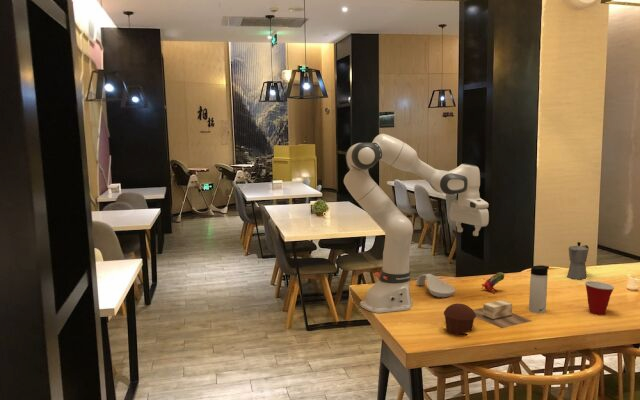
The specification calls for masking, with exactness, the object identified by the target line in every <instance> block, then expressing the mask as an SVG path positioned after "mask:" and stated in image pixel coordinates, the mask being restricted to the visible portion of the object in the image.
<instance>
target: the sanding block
mask: <svg viewBox="0 0 640 400" xmlns="http://www.w3.org/2000/svg"><path fill="white" fill-rule="evenodd" d="M482 305H483V307H482V308H483V317H486V318H488V319H491V320H497V319H501V318H505V317H510V316H512V313H513V303H511V302H508V301H506V300H503V299H501V300H497V301H492V302H487V303H483V304H482Z"/></svg>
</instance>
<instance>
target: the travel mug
mask: <svg viewBox="0 0 640 400" xmlns="http://www.w3.org/2000/svg"><path fill="white" fill-rule="evenodd" d="M549 268H550V266H548V265H542V264H541V265H538V264H537V265H533V266H532V267H530V276H529V277H530V280H529V281H530V282H529V299H528V300H529V301H528V311H529V312H531V313H535V314H546V311H547V294H548V278H549V277H548V275H549V274H548V271H549V270H548V269H549Z"/></svg>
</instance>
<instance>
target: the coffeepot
mask: <svg viewBox="0 0 640 400" xmlns="http://www.w3.org/2000/svg"><path fill="white" fill-rule="evenodd" d="M576 243H577V245H571V246H569V247H568V254H569V255H568V256H569V261H570V263H569V268H568V270H567V271H568V272H567V278H568V279H570V278H571V279H570V280H575V279H577V281H583V280H582V279H586V278H587V277H588V274H587V266H586V262H587V259H588V256H589V255H588V253H589V246H588V244H585V245H582V242H580V241H577V242H576ZM586 280H587V279H586Z"/></svg>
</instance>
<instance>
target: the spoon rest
mask: <svg viewBox="0 0 640 400" xmlns="http://www.w3.org/2000/svg"><path fill="white" fill-rule="evenodd" d="M415 285H416V286H418V287H420V286H419V285H421V286H425V285H426V286H427V289H428V291H429V293H430V294H431V295H432V296H434V297H435V296H436V297H435V298H440V297H441V298H443V299H444V297H445V298H449V297H451V296H452V295H454V293H455V292H456V289H455V287H454V286H452V285H451V284H449V283H448V282H445V281H444V280H442V279H440V278H439V277H437V276H435V275H434V274H431V273H421V274H420V275H419V276H418V277H417V279H416V283H415Z"/></svg>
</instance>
